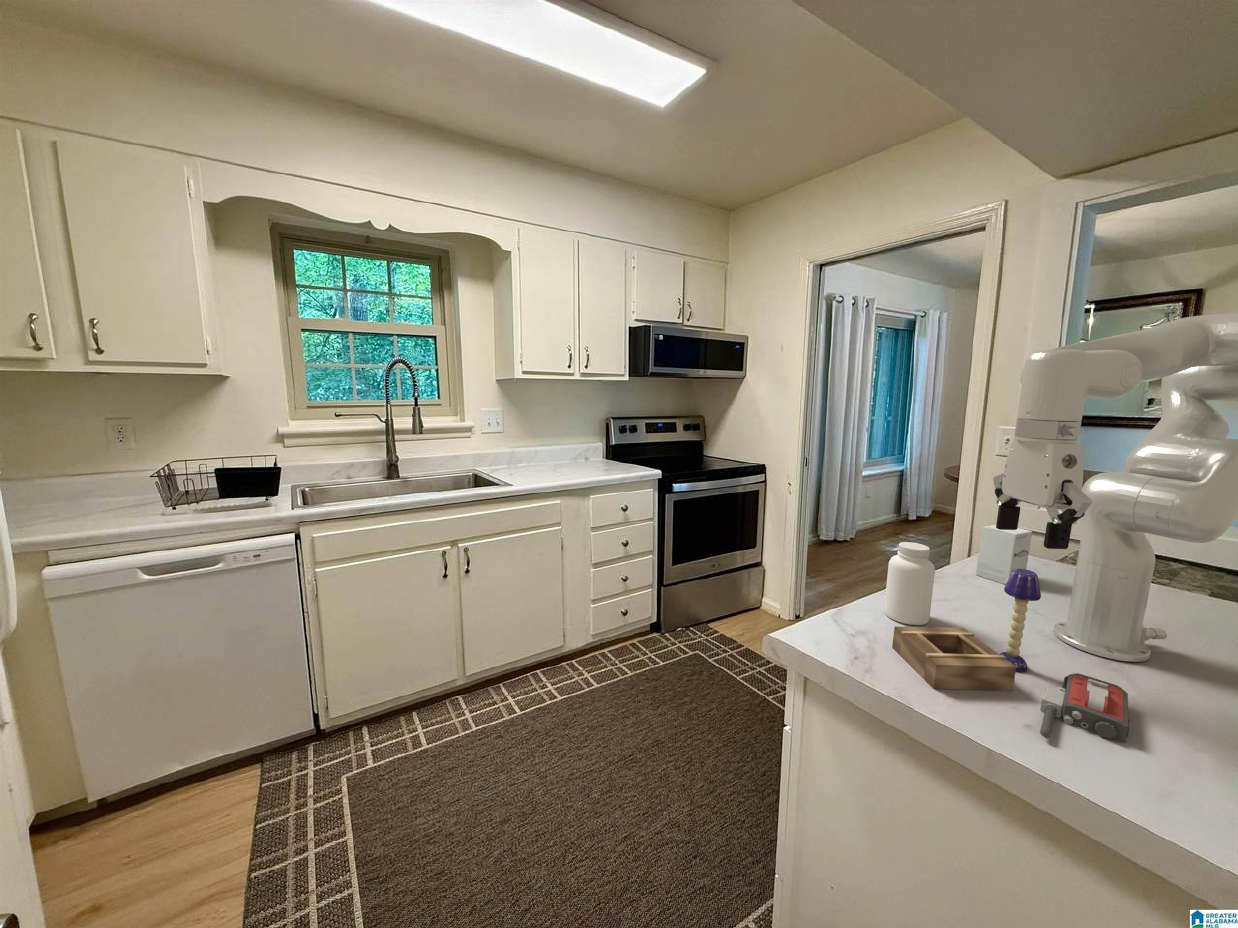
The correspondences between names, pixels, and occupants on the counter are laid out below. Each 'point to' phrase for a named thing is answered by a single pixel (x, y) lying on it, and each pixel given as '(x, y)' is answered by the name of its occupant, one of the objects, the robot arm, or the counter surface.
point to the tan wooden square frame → (953, 659)
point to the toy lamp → (1020, 612)
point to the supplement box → (1002, 552)
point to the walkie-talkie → (1087, 707)
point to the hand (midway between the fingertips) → (1029, 538)
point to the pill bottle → (910, 585)
